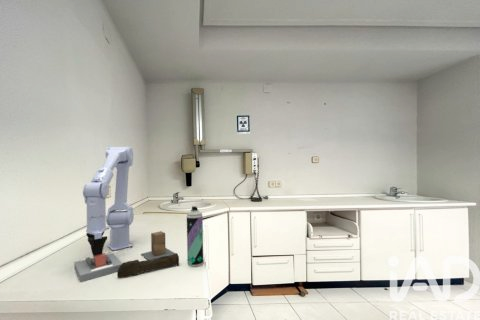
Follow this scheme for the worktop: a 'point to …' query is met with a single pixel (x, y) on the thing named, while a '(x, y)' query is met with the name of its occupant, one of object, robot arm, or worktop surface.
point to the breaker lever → (100, 260)
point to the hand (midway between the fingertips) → (96, 254)
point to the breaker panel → (89, 271)
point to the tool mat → (150, 256)
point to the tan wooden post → (158, 243)
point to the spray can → (194, 237)
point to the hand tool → (146, 265)
